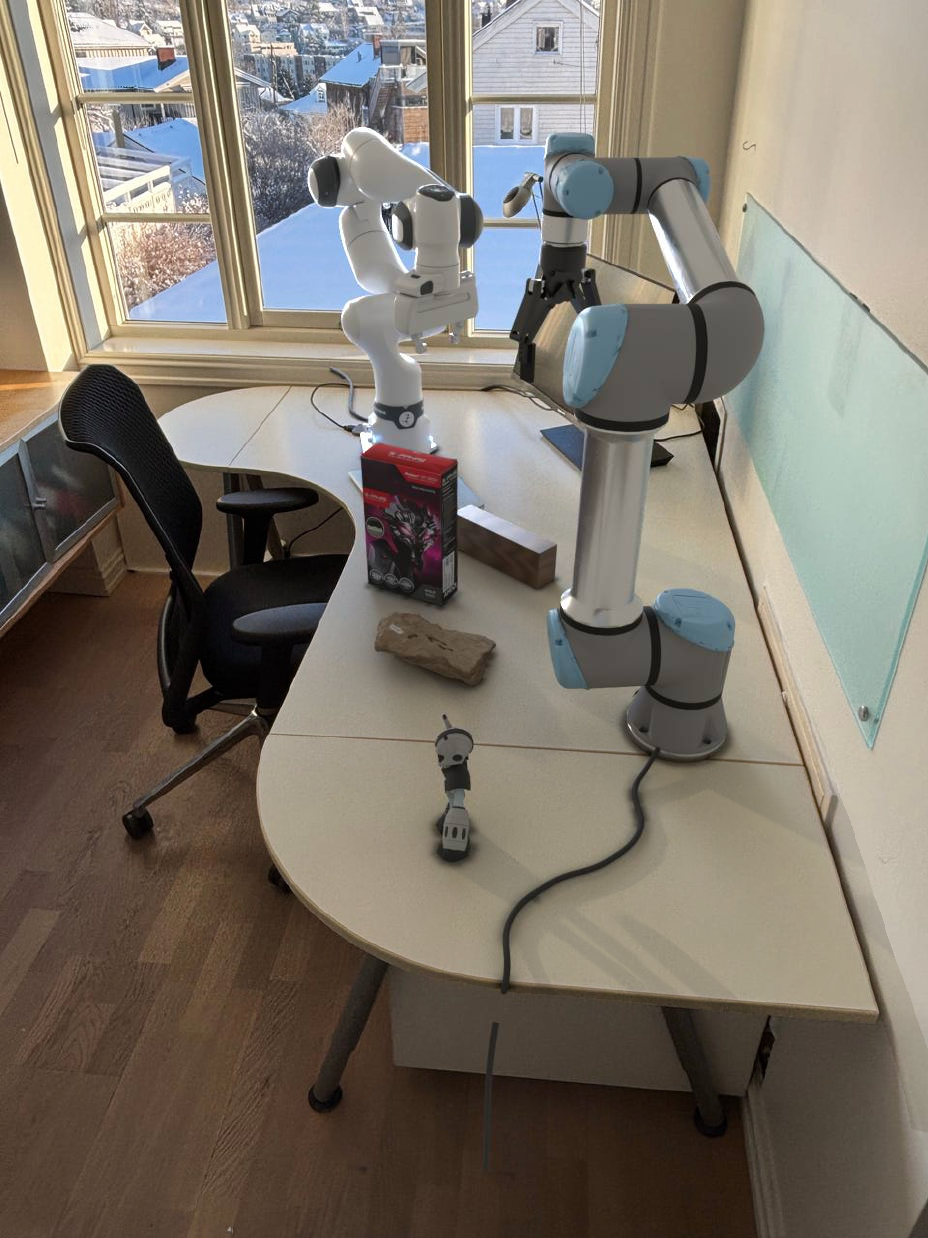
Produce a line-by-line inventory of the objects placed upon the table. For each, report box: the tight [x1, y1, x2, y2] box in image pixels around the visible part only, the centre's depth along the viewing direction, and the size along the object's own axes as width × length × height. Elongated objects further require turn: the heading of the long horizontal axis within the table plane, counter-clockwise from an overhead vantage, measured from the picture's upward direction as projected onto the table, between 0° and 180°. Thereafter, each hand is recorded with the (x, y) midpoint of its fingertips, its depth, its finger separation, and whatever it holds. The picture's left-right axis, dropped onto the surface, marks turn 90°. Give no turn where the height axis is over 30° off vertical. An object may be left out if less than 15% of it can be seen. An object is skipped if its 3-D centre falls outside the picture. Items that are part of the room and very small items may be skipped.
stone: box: [373, 611, 497, 686], centre depth 156 cm, size 21×15×6 cm
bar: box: [457, 504, 558, 590], centre depth 184 cm, size 24×5×8 cm, turn 45°
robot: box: [433, 713, 475, 862], centre depth 119 cm, size 20×5×20 cm, turn 3°
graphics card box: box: [359, 442, 459, 606], centre depth 169 cm, size 17×7×27 cm, turn 62°
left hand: (438, 347), depth 188 cm, fingers open, 8 cm apart
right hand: (555, 372), depth 159 cm, fingers open, 13 cm apart
